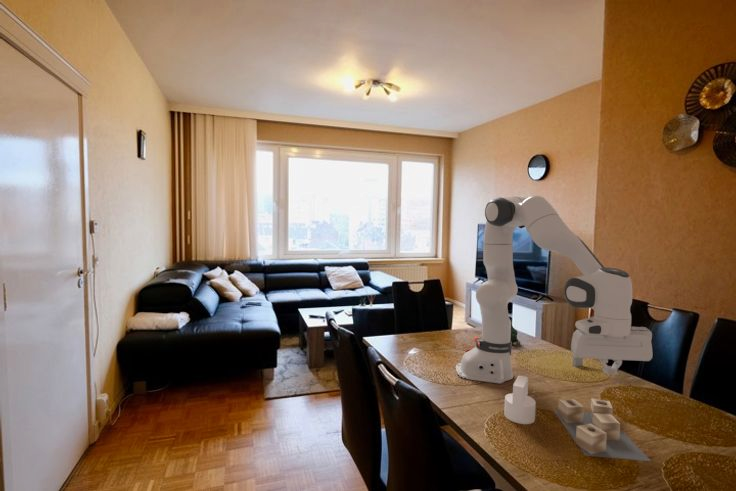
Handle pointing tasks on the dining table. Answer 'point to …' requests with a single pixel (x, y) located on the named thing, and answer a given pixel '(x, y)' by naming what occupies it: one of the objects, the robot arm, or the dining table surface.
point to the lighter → (577, 361)
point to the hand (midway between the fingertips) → (609, 373)
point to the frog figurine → (514, 337)
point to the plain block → (607, 425)
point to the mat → (608, 442)
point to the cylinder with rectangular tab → (520, 403)
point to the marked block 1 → (571, 411)
